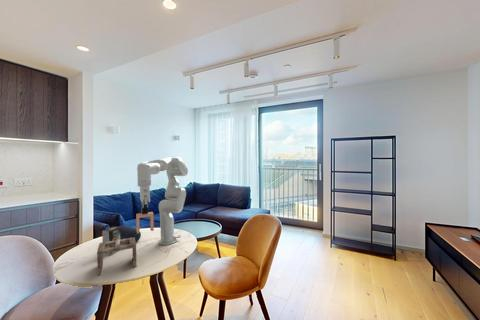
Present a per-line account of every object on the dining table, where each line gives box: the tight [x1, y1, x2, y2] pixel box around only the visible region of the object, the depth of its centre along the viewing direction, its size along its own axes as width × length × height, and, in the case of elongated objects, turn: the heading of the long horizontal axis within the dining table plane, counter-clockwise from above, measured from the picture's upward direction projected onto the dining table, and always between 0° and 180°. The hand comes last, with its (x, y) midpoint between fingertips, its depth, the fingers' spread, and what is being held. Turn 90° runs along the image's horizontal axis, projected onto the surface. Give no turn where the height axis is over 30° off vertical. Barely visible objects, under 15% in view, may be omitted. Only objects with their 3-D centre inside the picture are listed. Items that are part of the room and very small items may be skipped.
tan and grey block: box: [135, 206, 155, 233], centre depth 135 cm, size 9×4×15 cm, turn 120°
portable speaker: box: [117, 225, 142, 243], centre depth 168 cm, size 25×10×10 cm, turn 59°
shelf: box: [96, 237, 137, 277], centre depth 129 cm, size 19×14×14 cm
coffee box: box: [101, 226, 121, 256], centre depth 147 cm, size 9×6×16 cm
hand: (144, 212), depth 135 cm, fingers closed on tan and grey block, 3 cm apart
